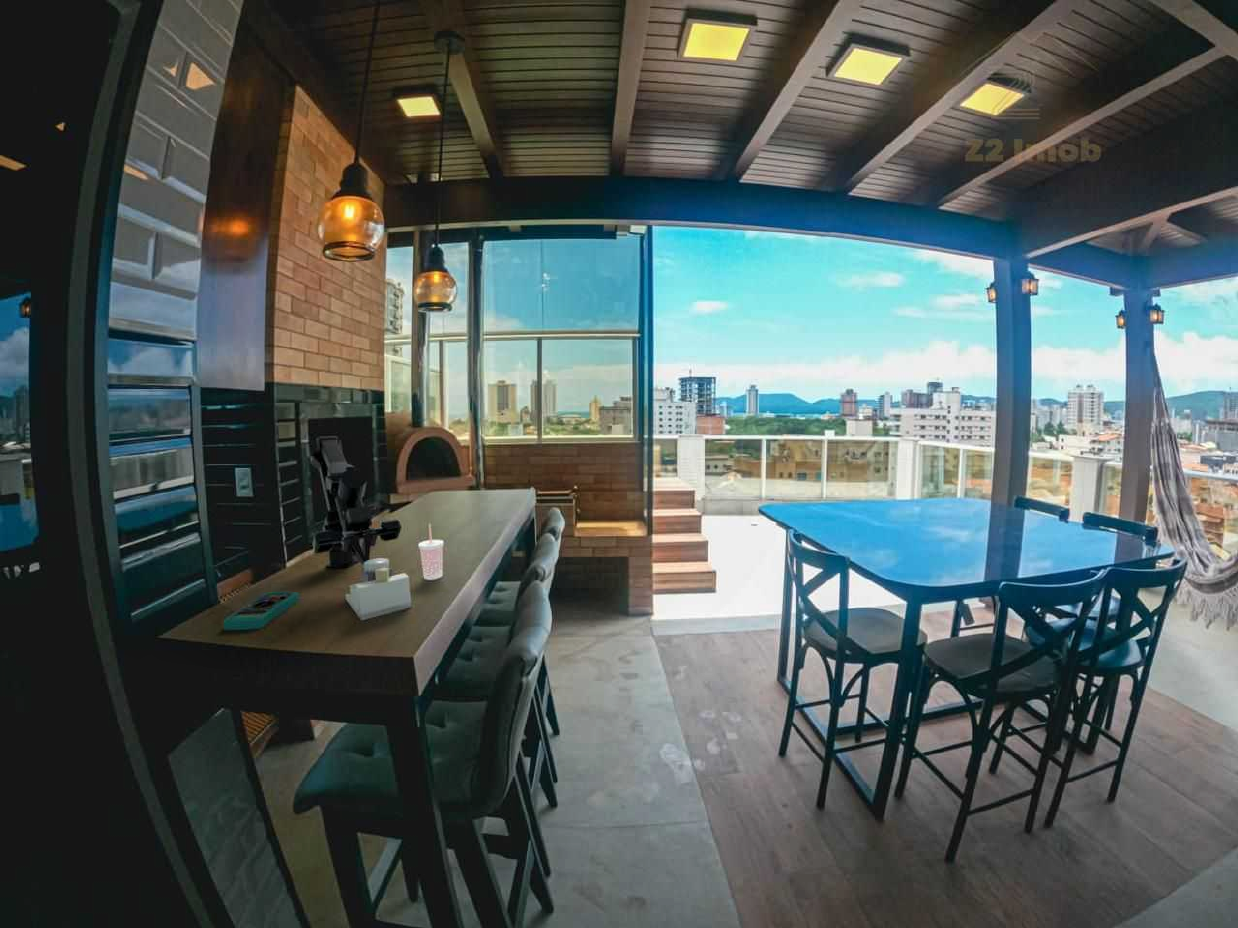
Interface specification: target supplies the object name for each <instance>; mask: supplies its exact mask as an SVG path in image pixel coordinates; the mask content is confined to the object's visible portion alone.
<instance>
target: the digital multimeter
mask: <svg viewBox="0 0 1238 928" xmlns="http://www.w3.org/2000/svg"><path fill="white" fill-rule="evenodd" d="M299 600H300V599H299V593H297V592H295V591H282V590H281V591H272V592H266V593H264V594H263V595H261V596H260V597H258V598H257V599H255V600H253V601H252V602H251V603H249V604H248V605H246V606H244V607H242V608H241V609H239V610H238V611H236V612H234V613H232V614H230V615H229V616H227V617H226V618H225V619H224V620H223V621H222V626H223V630H224V631H246V630H257V629H262V628H263V627H265V626H266V625H267V624H268V623H271V621H272V620H274V619H275V618H276V617H278V616H279V615H281V614H282V613H283V612H285V611H287V610H288V609H289V608H290V607H291V606H294V605H295V604H296V603H298V602H299Z"/></svg>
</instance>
